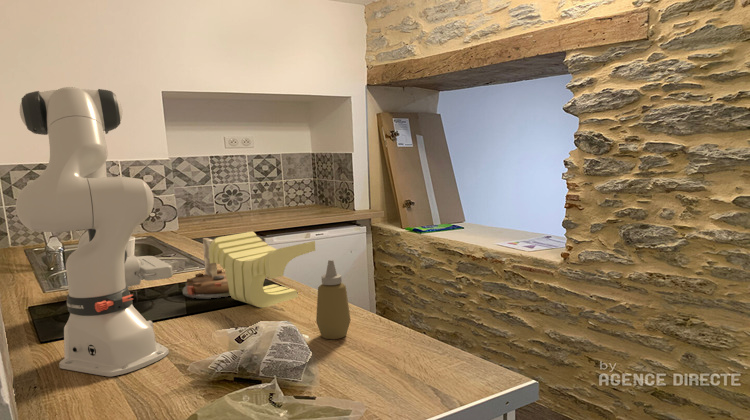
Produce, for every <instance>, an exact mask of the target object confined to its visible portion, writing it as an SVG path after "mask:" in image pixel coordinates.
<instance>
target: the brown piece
mask: <svg viewBox="0 0 750 420" xmlns="http://www.w3.org/2000/svg"><path fill="white" fill-rule="evenodd" d="M213 240H214V239H211V238H210V237H209V238H208V237H204V238H202V244H203V246H202V247H203V257H204V258H203V260H204V270H205V272H204V273H201V272H199V273H195V276H194V277H192V278H191V277H190V278H187V279H186V286H194V293H198V294H215V293H224V292H229V286H228V281H227V277H226V273H225V271H223V269H218V266H217V265H218V264H217V263H211V264H210V259H209V246H210V244H211V242H212V241H213Z"/></svg>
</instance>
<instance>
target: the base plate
mask: <svg viewBox="0 0 750 420" xmlns="http://www.w3.org/2000/svg"><path fill="white" fill-rule="evenodd" d="M182 295H183V296H184V297H186V298H189V299H194V298H196V300H212V299H211V298H217V299H222V298H221V297H225V298H229V297H228V296H230V293H229V292H224V293H215V294H198V293H194V286H187V285H185V286H184V287H183V288H182Z"/></svg>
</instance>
